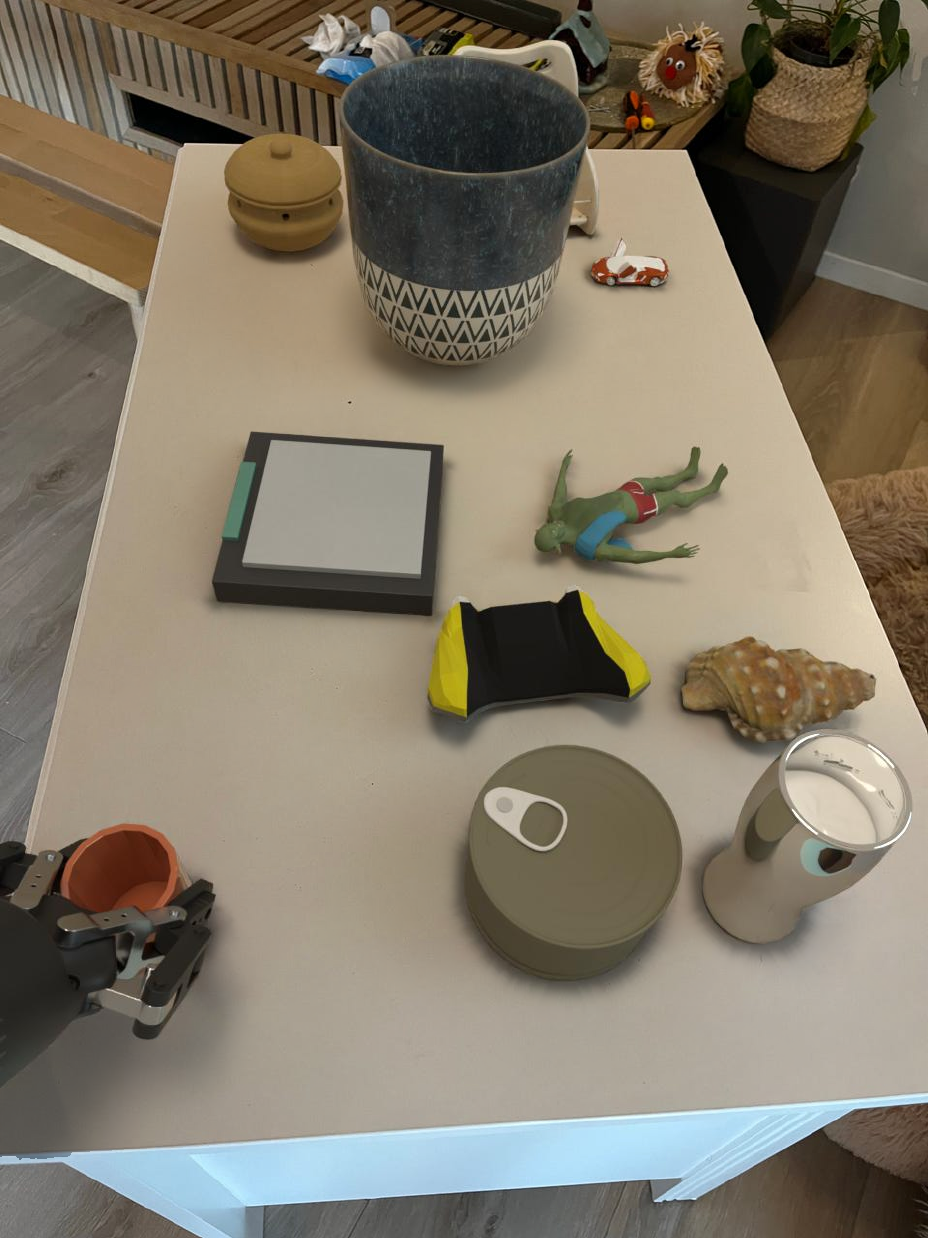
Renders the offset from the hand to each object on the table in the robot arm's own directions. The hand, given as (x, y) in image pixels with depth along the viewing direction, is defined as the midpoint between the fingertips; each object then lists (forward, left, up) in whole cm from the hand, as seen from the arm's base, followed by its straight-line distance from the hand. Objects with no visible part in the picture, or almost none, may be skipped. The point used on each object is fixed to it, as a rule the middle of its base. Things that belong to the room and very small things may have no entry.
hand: (153, 873), depth 51 cm
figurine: (+29, +33, -4) cm, 45 cm away
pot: (-4, +71, -4) cm, 72 cm away
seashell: (+38, +16, -4) cm, 42 cm away
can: (+23, +2, -4) cm, 24 cm away
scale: (+6, +30, -4) cm, 31 cm away
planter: (+14, +55, -4) cm, 57 cm away
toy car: (+32, +68, -4) cm, 76 cm away
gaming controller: (+21, +17, -4) cm, 28 cm away
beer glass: (+35, +2, -4) cm, 36 cm away
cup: (-1, -2, -4) cm, 5 cm away
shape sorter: (+18, +77, -4) cm, 80 cm away
